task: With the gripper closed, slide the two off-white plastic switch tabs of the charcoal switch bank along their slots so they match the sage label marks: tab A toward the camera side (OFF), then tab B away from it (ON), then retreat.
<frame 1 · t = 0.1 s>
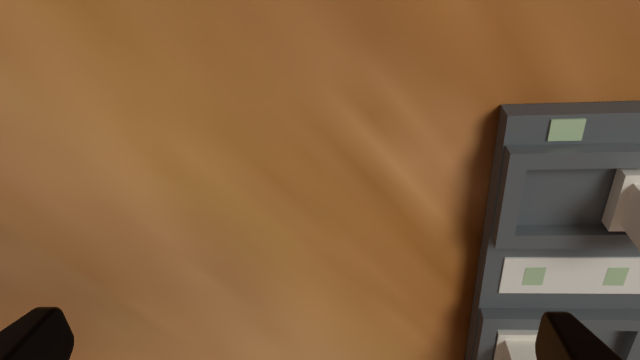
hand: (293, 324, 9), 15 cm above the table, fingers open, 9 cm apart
switch bank: (565, 259, 26), on the table
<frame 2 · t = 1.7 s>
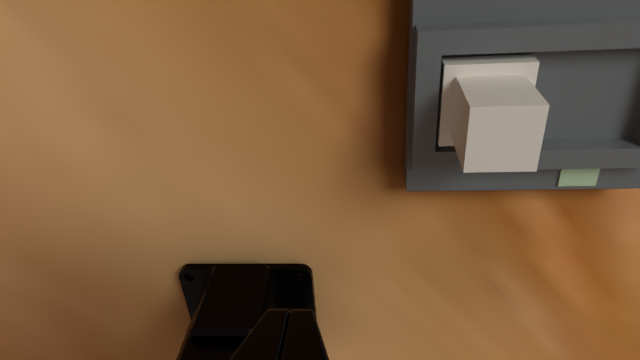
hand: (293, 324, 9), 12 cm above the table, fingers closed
tab A: (492, 117, 16), point 3 cm above the table, slide at 4.0 cm
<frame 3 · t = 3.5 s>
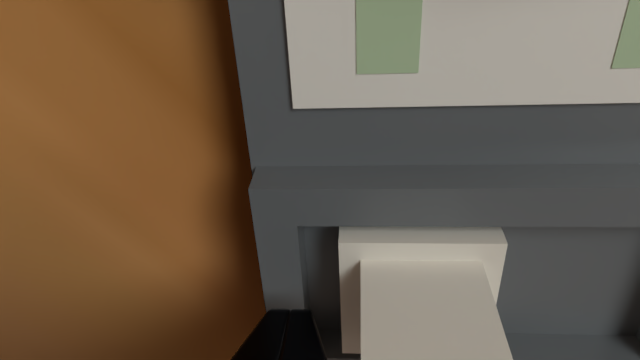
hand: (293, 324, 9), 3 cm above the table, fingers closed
tab A: (421, 338, 9), point 3 cm above the table, slide at 3.3 cm, touching gripper
switch bank: (499, 12, 9), on the table
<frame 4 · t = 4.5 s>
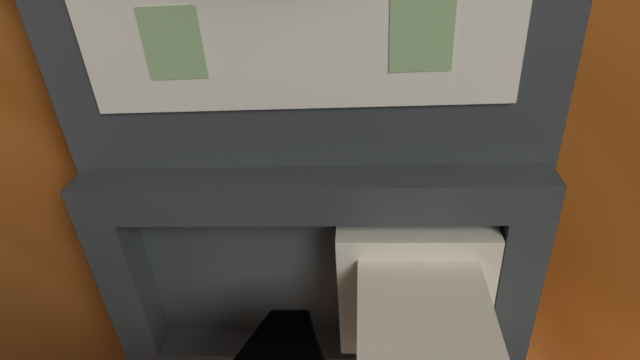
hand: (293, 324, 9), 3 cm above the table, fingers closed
tab A: (419, 338, 9), point 3 cm above the table, slide at 0.0 cm, touching gripper
switch bank: (302, 18, 9), on the table
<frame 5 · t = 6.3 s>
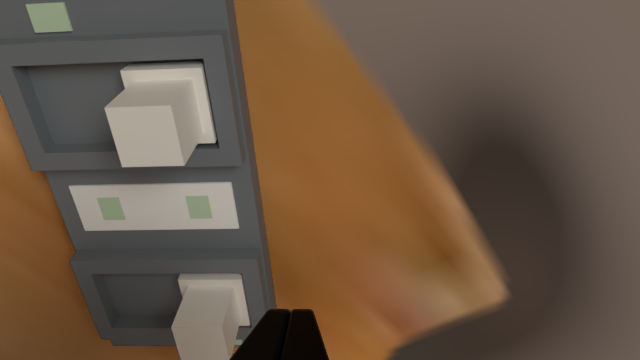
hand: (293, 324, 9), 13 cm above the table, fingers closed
tab B: (161, 117, 18), point 3 cm above the table, slide at 0.0 cm
tab A: (210, 316, 23), point 3 cm above the table, slide at 0.0 cm
switch bank: (164, 192, 23), on the table
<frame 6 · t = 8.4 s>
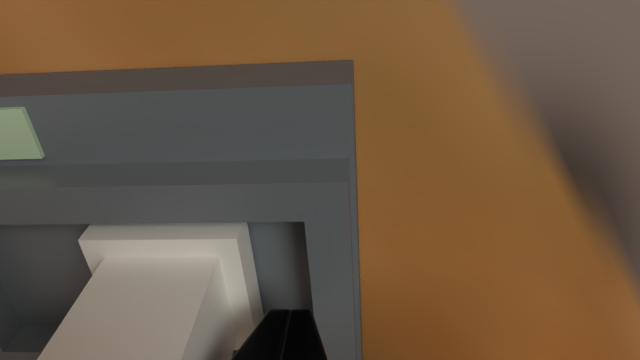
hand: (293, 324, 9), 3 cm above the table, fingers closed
tab B: (159, 332, 9), point 3 cm above the table, slide at 1.1 cm, touching gripper
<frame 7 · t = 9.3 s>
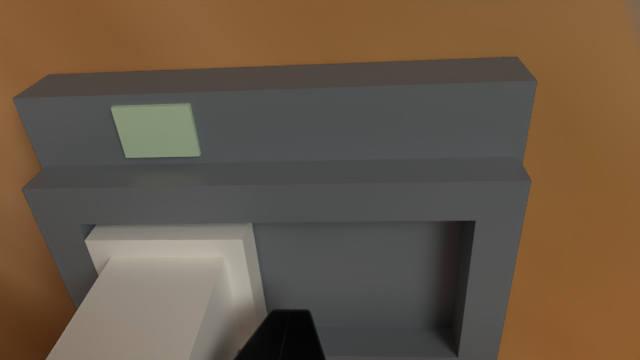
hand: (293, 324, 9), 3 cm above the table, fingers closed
tab B: (165, 332, 9), point 3 cm above the table, slide at 4.0 cm, touching gripper
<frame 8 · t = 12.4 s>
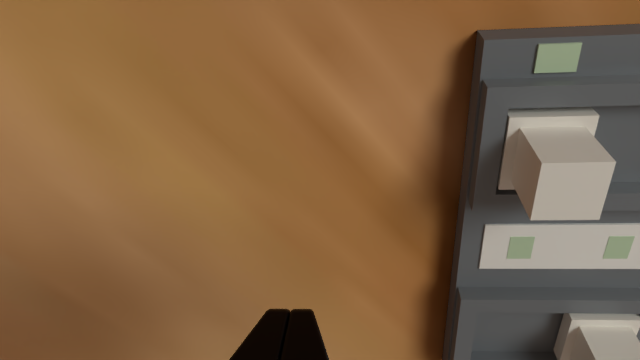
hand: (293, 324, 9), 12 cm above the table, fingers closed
tab B: (554, 166, 17), point 3 cm above the table, slide at 4.0 cm
tab A: (606, 358, 22), point 3 cm above the table, slide at 0.0 cm
switch bank: (558, 228, 22), on the table
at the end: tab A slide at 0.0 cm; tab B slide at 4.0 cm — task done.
